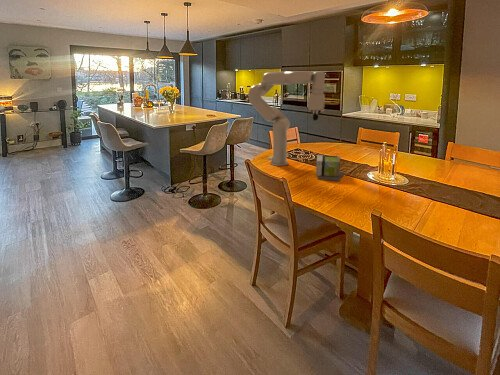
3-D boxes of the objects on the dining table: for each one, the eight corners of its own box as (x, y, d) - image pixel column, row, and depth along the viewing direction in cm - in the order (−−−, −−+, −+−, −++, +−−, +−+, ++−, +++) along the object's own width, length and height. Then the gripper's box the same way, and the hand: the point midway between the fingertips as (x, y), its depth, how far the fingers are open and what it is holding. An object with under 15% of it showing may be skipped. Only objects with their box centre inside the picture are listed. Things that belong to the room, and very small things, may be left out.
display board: (317, 178, 213) (317, 177, 213) (325, 171, 228) (325, 170, 228) (337, 182, 208) (338, 180, 207) (345, 174, 223) (345, 172, 222)
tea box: (315, 176, 217) (339, 177, 214) (316, 160, 213) (340, 161, 210) (316, 169, 230) (339, 170, 227) (317, 154, 227) (340, 155, 224)
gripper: (304, 91, 223) (302, 119, 230) (326, 92, 216) (324, 121, 223) (308, 90, 230) (306, 118, 236) (330, 92, 222) (328, 120, 229)
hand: (315, 120), depth 229 cm, fingers closed
